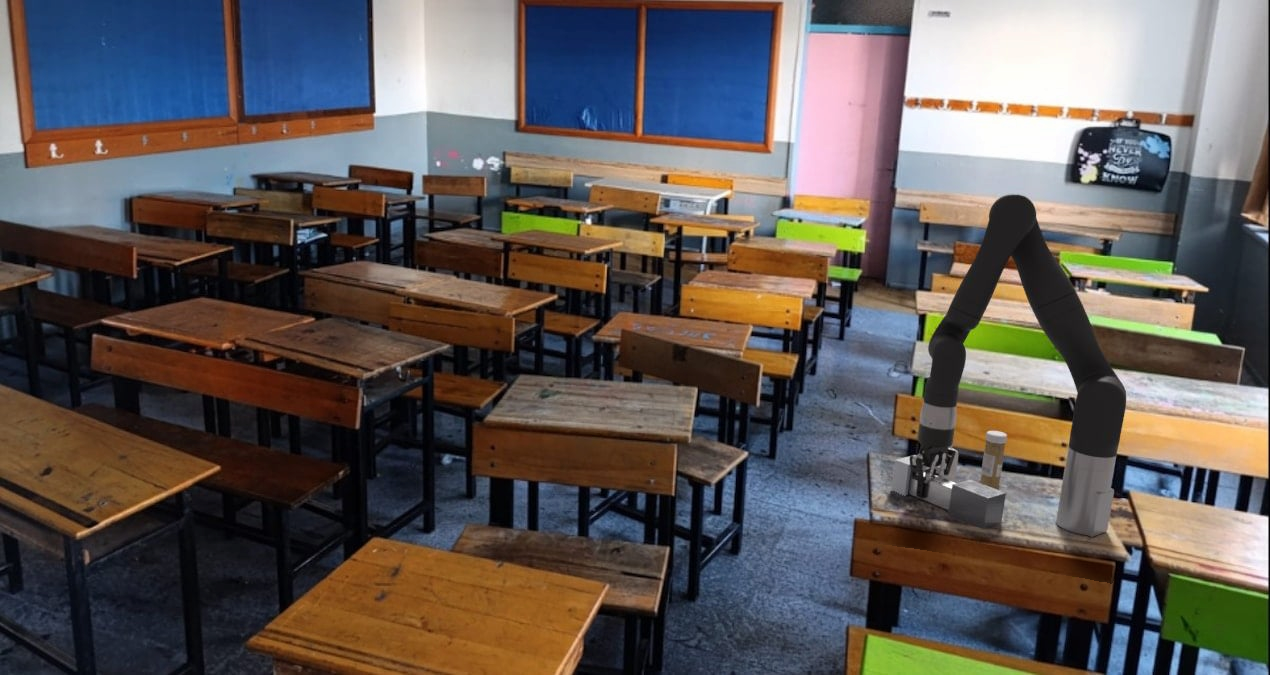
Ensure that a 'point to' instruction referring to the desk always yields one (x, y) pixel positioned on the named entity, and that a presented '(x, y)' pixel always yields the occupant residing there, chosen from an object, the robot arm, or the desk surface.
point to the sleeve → (977, 503)
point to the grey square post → (934, 490)
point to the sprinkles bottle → (993, 459)
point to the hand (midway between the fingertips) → (927, 495)
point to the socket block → (902, 475)
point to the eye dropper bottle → (952, 467)
